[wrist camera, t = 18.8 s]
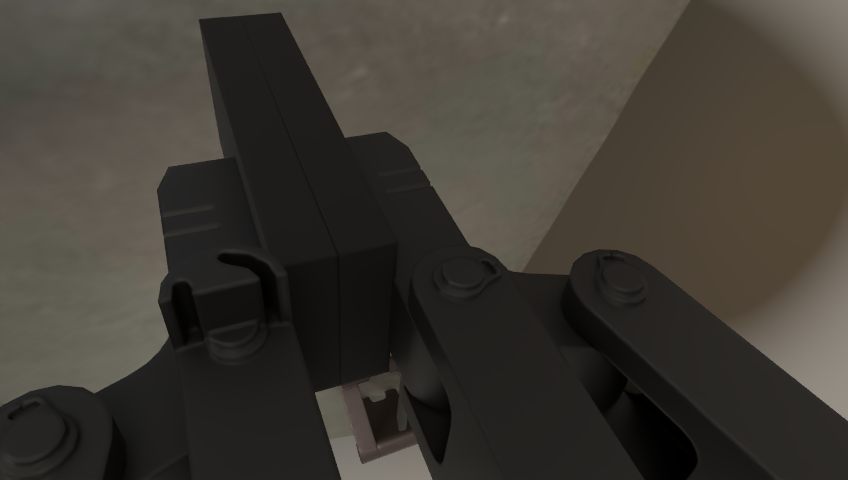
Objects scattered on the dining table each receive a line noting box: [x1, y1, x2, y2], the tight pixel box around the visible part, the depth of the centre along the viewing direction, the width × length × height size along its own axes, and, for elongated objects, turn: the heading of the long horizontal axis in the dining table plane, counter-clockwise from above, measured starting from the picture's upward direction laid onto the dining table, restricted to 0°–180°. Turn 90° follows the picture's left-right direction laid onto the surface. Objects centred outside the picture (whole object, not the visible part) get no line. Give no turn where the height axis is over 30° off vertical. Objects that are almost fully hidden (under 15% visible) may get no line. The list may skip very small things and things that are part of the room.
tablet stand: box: [339, 356, 418, 464], centre depth 68 cm, size 9×8×8 cm
